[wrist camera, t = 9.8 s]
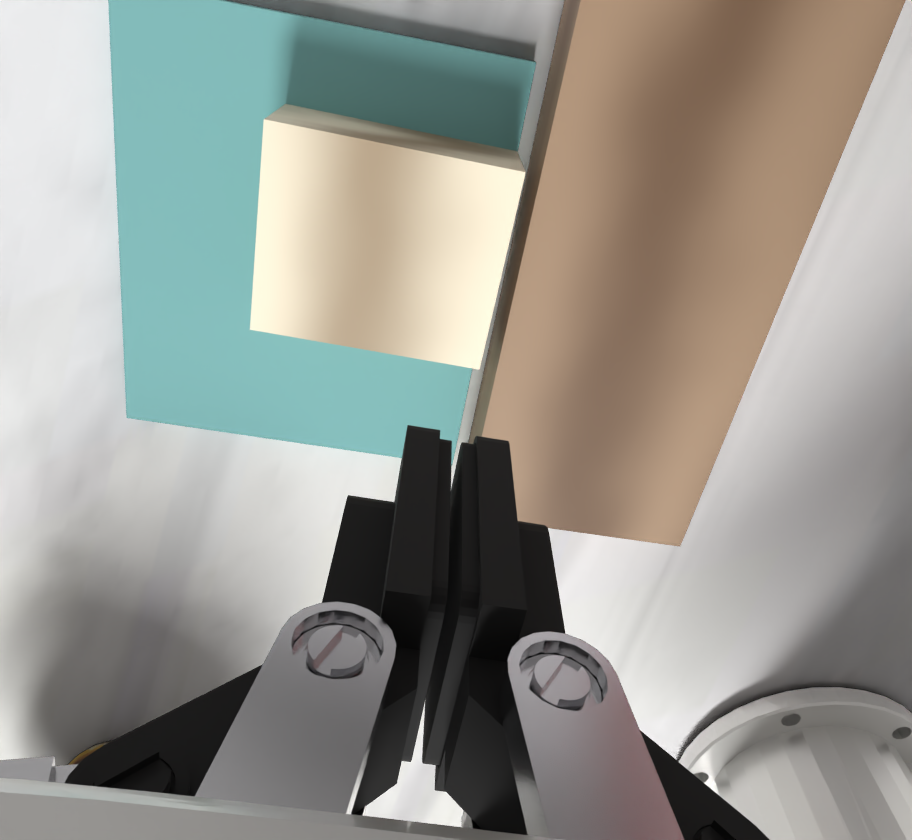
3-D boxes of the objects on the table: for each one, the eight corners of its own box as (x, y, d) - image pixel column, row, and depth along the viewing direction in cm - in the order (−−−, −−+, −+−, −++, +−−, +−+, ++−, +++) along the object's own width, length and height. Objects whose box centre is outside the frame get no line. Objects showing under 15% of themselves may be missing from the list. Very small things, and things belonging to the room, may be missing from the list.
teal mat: (534, 61, 22) (536, 62, 22) (452, 456, 29) (452, 465, 29) (115, -22, 21) (107, -22, 21) (132, 409, 28) (126, 417, 28)
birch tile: (517, 151, 23) (525, 172, 20) (476, 331, 26) (479, 369, 23) (285, 103, 22) (263, 119, 20) (270, 294, 25) (249, 329, 23)
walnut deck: (855, -16, 21) (912, -16, 19) (660, 497, 30) (680, 546, 28) (581, -76, 21) (599, -85, 18) (462, 469, 29) (463, 516, 27)
